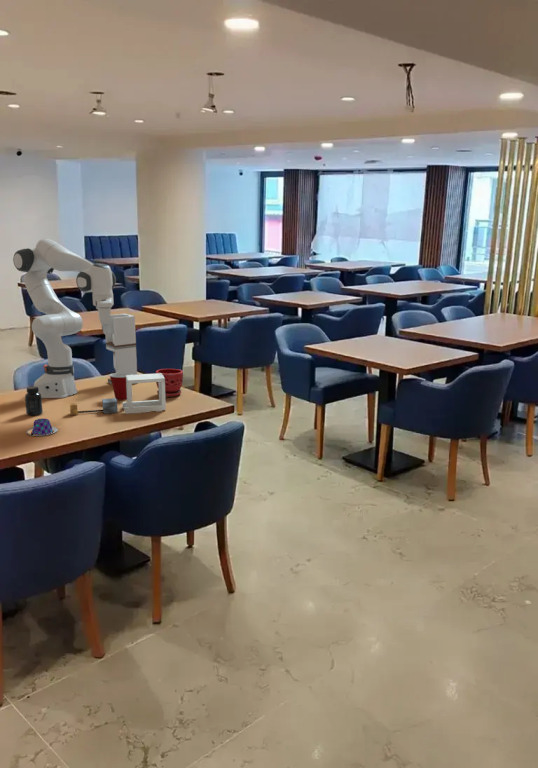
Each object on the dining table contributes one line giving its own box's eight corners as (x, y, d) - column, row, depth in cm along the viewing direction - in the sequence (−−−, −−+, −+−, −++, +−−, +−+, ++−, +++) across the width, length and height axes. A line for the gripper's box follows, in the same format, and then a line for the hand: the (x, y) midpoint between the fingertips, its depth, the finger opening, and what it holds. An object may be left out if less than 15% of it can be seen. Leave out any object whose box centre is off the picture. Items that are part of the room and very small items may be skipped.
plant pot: (181, 398, 329) (181, 373, 326) (154, 398, 329) (153, 373, 326) (184, 391, 342) (184, 367, 339) (158, 391, 342) (157, 367, 339)
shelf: (124, 413, 304) (123, 380, 300) (122, 407, 313) (121, 375, 309) (165, 410, 309) (164, 378, 305) (162, 404, 318) (161, 373, 314)
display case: (127, 379, 364) (125, 313, 356) (137, 383, 356) (134, 316, 348) (107, 382, 357) (104, 315, 349) (117, 386, 349) (113, 318, 341)
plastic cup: (136, 395, 333) (135, 371, 330) (129, 401, 322) (128, 376, 319) (114, 395, 334) (113, 370, 331) (107, 401, 323) (105, 376, 320)
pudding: (20, 435, 274) (19, 423, 273) (37, 426, 286) (37, 414, 284) (47, 438, 271) (46, 425, 270) (63, 429, 283) (62, 417, 281)
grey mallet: (70, 416, 299) (69, 404, 298) (70, 412, 305) (69, 401, 303) (117, 412, 305) (117, 401, 303) (116, 408, 310) (116, 398, 309)
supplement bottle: (46, 412, 304) (44, 386, 301) (36, 416, 298) (34, 390, 295) (33, 411, 307) (30, 384, 304) (22, 415, 300) (20, 388, 297)
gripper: (94, 298, 313) (96, 328, 316) (97, 304, 294) (98, 336, 297) (108, 298, 315) (110, 328, 318) (112, 303, 296) (113, 335, 299)
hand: (104, 332), depth 307 cm, fingers open, 8 cm apart
